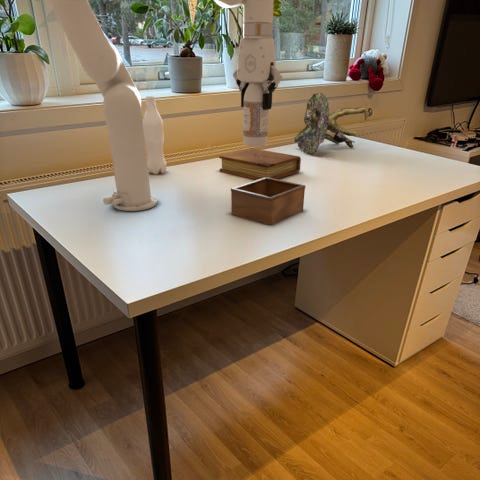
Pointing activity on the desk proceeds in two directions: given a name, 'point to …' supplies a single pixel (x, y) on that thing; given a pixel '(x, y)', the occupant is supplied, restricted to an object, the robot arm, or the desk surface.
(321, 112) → the tree stump
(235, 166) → the diary
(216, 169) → the desk surface
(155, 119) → the water bottle
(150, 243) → the desk surface
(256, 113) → the bath foam
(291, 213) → the open wooden box
